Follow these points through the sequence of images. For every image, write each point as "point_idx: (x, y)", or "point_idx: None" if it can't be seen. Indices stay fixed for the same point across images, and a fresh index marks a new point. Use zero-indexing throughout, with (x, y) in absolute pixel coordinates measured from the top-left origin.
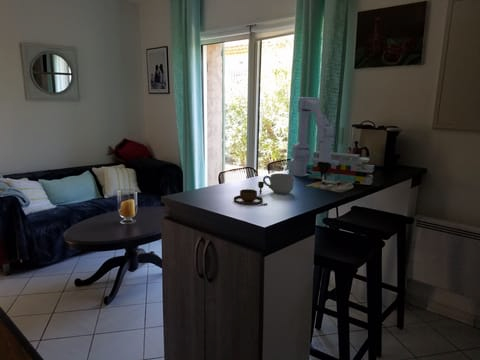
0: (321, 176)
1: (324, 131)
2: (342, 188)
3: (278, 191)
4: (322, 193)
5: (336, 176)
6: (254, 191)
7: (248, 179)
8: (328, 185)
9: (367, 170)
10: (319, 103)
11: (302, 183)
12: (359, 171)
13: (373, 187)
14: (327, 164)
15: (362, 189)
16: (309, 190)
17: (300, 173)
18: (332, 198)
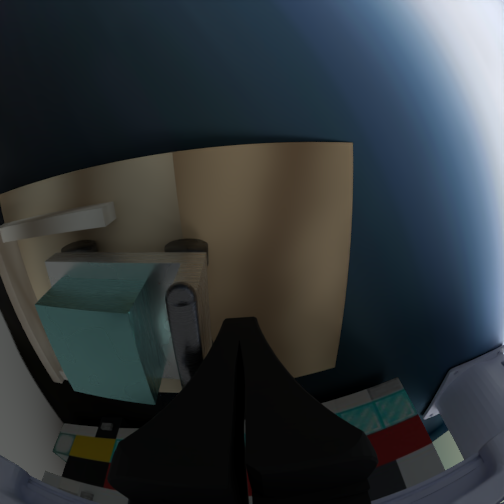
0: (249, 322)
1: None
2: (6, 224)
3: None
4: (77, 27)
5: (51, 343)
6: None
7: None
8: (101, 206)
9: (55, 483)
10: None
11: (412, 215)
12: (86, 483)
13: (63, 419)
14: (130, 497)
15: (38, 364)
16: (210, 4)
17: (464, 381)
18: (3, 15)
